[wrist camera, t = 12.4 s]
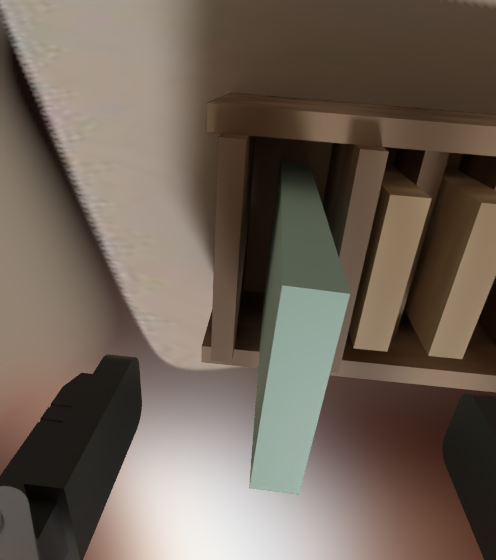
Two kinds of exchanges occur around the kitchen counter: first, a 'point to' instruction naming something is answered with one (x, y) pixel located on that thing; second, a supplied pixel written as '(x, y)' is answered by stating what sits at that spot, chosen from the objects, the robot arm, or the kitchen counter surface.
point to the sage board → (295, 331)
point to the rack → (337, 218)
